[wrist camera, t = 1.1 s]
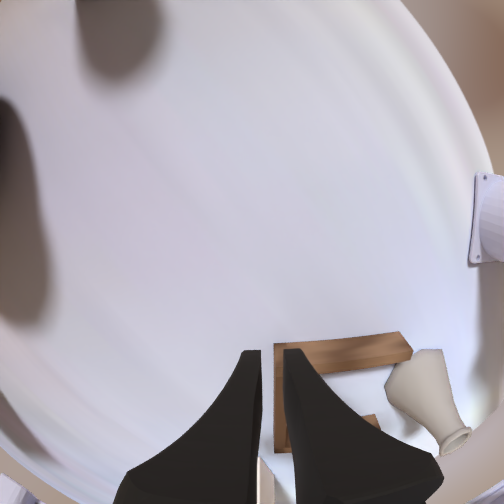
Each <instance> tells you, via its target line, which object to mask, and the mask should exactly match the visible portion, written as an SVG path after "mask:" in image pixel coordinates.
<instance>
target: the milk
mask: <svg viewBox="0 0 504 504" xmlns="http://www.w3.org/2000/svg"><path fill="white" fill-rule="evenodd" d="M257 504H275V489H274V475H273V473H272V472H271V471H270V469H269V468H268V467H267V465H266V464H265V463H264V462H263V460H262V459H261V457H258V460H257Z"/></svg>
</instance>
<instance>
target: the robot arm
mask: <svg viewBox="0 0 504 504" xmlns="http://www.w3.org/2000/svg"><path fill="white" fill-rule="evenodd" d="M483 178H484V179H483ZM476 258H477V259H476ZM469 261H470V262H471V263H484V262H494V261H501V262H503V263H504V176H500V175H495V174H490V173H485V172H477V174H476V189H475V209H474V221H473V231H472V239H471V247H470V254H469ZM283 403H284V413H285V418H286V423H287V429H288V434H289V439H290V444H291V449H292V455H293V462H294V472H295V488H296V504H426V502H425V501H426V500H427V499H428V498H429V497H430V496H431V495H432V494H433V493H434V492H435V491H436V490H437V489H438V488H439V487H440V486H441V485H442V483H443V480H444V476H443V474H442V472H441V470H440V467H439V465H438V463H437V462H436V460H435V459H434V457H433V456H432V454H431V453H429V452H426V451H423V450H421V449H418V448H415V447H413V446H410V445H408V444H406V443H403V442H401V441H399V440H397V439H395V438H393V437H392V436H390V435H388V434H386V433H385V432H383V431H381V430H380V429H378V428H377V427H375V426H373V425H372V424H370V423H369V422H367V421H366V420H365V419H363V418H362V417H361V416H360V415H358V414H357V413H356V412H355V411H353V410H352V409H351V408H350V407H349V406H348V405H347V404H345V403H344V402H343V401H342V400H341V399H340V398H339V397H338V396H337V395H336V394H335V393H334V392H333V390H332V389H331V388H330V387H329V386H328V385H327V384H326V383H325V381H324V380H323V379H322V378H321V376H320V375H319V374H318V373H317V371H316V370H315V369H314V367H313V366H312V365H311V363H310V362H309V360H308V359H307V357H306V356H305V354H304V352H303V350H301V349H300V348H293V349H283ZM262 411H263V410H262V370H261V350H244V351H243V352H242V353H241V356H240V359H239V361H238V363H237V365H236V367H235V369H234V371H233V373H232V375H231V377H230V378H229V380H228V382H227V383H226V385H225V387H224V388H223V390H222V391H221V393H220V394H219V395H218V397H217V398H216V400H215V401H214V402H213V404H212V405H211V406H210V407H209V409H208V410H207V411H206V412H205V413H204V414H203V415H202V417H201V418H200V419H199V420H198V421H197V422H196V423H195V424H194V425H193V426H192V427H191V428H190V429H189V430H188V431H187V432H186V433H184V434H183V435H182V436H181V437H180V438H179V439H177V440H176V441H175V442H174V443H172V444H171V445H170V446H168V447H167V448H165V449H164V450H163V451H161V452H160V453H159V454H157V455H156V456H154V457H152V458H151V459H149V460H147V461H146V462H144V463H142V464H140V465H139V466H137V467H135V468H133V469H131V470H129V471H127V473H126V475H125V477H124V479H123V480H122V482H121V484H120V486H119V488H118V491H117V493H116V496H115V499H114V502H113V504H257V460H258V450H259V441H260V431H261V421H262ZM0 504H46V503H44V502H42V501H40V500H39V499H37V498H36V497H35V496H34V495H33V494H32V493H31V492H30V491H28V490H27V489H26V488H25V487H23V486H22V485H20V484H19V483H17V482H16V481H14V480H13V479H12V478H10V477H9V476H7V475H6V474H4V473H1V475H0ZM465 504H504V480H502V481H500V482H499V483H497V484H496V485H495V486H493V487H492V488H490V489H488V490H487V491H486V492H484V493H482V494H480V495H479V496H477V497H476V498H474V499H472V500H470V501H469V502H467V503H465Z"/></svg>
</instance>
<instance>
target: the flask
mask: <svg viewBox="0 0 504 504" xmlns="http://www.w3.org/2000/svg"><path fill="white" fill-rule="evenodd" d="M385 390H386V393H387V397H388V400H389V402H390V403H392V404H393V405H394V406H396V407H397V408H399V409H400V410H402V411H403V412H405V413H406V414H408V415H409V416H410V417H412V418H413V419H414V420H416V421H417V422H418V423H420V424H421V425H422V426H424V427H425V428H426V429H427V430H428V431H429V432H430V433H431V435H432V436H433V437H434V438H435V439H436V441H437V443H438V445H439V455H440V456H444V455H447V454H450V453H452V452H454V451H455V450H457V449H458V448H460V447H461V446H463V445H464V443H466V441H467V440H468V439H469V438H470V437H471V433H472V429H471V428H470V427H466V426H465V425H464V423H463V421H462V420H461V418H460V416H459V414H458V411H457V408H456V405H455V403H454V399H453V394H452V390H451V385H450V381H449V377H448V372H447V367H446V363H445V359H444V355H443V351H442V349H421V350H420V351H418V352H416V353H415V354H413V355H412V357H411V360H409V361H404V362H399V363H397V364H396V365H395V367H394V369H393V371H392V373H391V375H390V377H389V379H388V381H387V382H386V384H385Z"/></svg>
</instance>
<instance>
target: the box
mask: <svg viewBox="0 0 504 504" xmlns="http://www.w3.org/2000/svg"><path fill="white" fill-rule="evenodd" d="M293 348H300V349H301V350H303V352H304V354H305V356H306V357H307V359H308V360H309V362H310V363H311V365H312V366H313V367H314V369H315V370H316V371H317V373H318V374H324V373H333V372H342V371H350V370H357V369H364V368H371V367H377V366H383V365H388V364H394V363H399V362H404V361H409V360H411V357H412V354H413V349H412V348H411V346H410V345H409V344H408V342H407V341H406V340H405V338H404V337H403V336H402V335H401V333H400V332H399V331H398V332H391V333H384V334H377V335H369V336H361V337H352V338H343V339H333V340H321V341H308V342H293V343H274V425H273V434H274V454H275V453H292V449H291V444H290V439H289V434H288V429H287V423H286V418H285V413H284V403H283V349H293ZM362 418H363V419H365V420H366V421H367V422H369V423H370V424H372V425H373V426H375V427H377V428H378V429H380V430H381V428H380V426H379V423H378V421H377V418H376V416H375V414H373V415H367V416H362Z"/></svg>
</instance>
